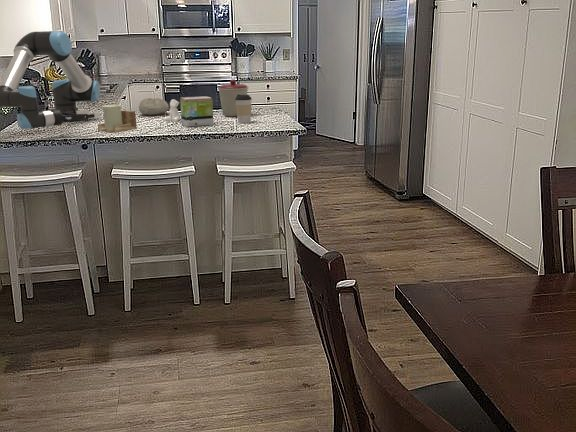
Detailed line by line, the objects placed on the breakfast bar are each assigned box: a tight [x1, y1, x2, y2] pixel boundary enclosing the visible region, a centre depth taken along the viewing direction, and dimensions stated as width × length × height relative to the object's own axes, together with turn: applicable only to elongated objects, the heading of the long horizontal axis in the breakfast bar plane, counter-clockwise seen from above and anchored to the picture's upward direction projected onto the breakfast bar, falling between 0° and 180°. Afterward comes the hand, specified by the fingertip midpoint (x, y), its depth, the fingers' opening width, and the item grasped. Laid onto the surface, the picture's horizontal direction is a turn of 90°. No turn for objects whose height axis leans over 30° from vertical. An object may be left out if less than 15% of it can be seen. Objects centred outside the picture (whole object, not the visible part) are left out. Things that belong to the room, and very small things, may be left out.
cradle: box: [97, 109, 138, 134], centre depth 308 cm, size 14×14×9 cm
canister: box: [217, 78, 250, 118], centre depth 347 cm, size 18×18×21 cm
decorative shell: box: [138, 97, 170, 116], centre depth 358 cm, size 18×18×10 cm
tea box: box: [179, 95, 214, 128], centre depth 318 cm, size 15×10×15 cm
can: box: [102, 104, 123, 130], centre depth 306 cm, size 9×9×12 cm
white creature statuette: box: [162, 98, 181, 123], centre depth 333 cm, size 10×9×12 cm
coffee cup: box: [235, 94, 252, 124], centre depth 323 cm, size 9×9×15 cm
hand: (94, 113), depth 299 cm, fingers open, 13 cm apart
